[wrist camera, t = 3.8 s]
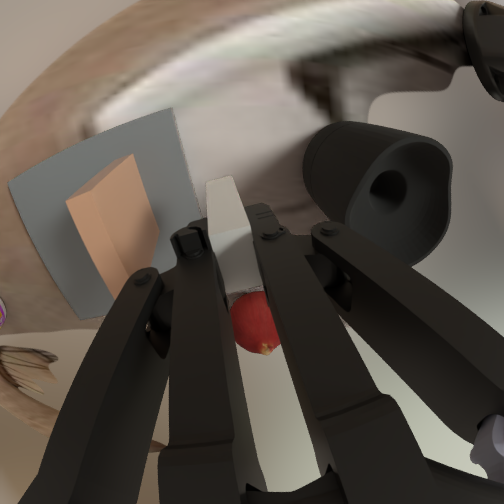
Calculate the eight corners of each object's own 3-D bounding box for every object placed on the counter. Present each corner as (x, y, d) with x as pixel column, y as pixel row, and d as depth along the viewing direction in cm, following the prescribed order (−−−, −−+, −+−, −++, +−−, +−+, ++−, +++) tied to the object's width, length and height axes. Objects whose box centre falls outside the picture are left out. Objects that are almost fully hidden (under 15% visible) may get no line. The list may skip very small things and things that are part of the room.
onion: (275, 313, 31) (294, 369, 25) (225, 318, 30) (234, 377, 24) (280, 272, 28) (304, 329, 22) (224, 276, 27) (233, 337, 21)
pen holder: (278, 192, 24) (322, 250, 15) (324, 97, 20) (399, 104, 11) (357, 225, 27) (413, 283, 19) (399, 146, 23) (474, 180, 15)
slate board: (172, 107, 18) (170, 107, 17) (222, 281, 28) (223, 288, 27) (13, 178, 18) (7, 182, 17) (83, 313, 27) (80, 320, 26)
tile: (133, 153, 19) (90, 190, 11) (159, 231, 22) (142, 302, 15) (113, 160, 19) (63, 202, 11) (141, 236, 22) (117, 307, 15)
